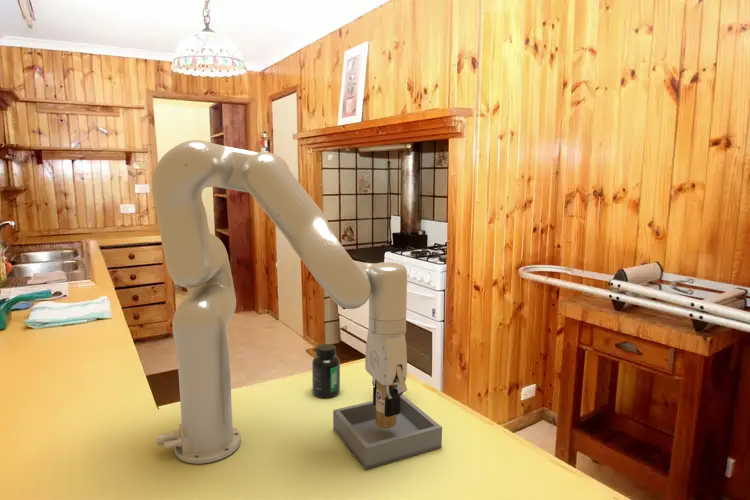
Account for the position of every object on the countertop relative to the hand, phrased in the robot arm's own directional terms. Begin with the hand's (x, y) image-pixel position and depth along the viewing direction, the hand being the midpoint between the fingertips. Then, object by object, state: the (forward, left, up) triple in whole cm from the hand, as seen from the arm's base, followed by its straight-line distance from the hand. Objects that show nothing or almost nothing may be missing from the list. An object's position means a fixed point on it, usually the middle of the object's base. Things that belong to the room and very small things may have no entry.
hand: (386, 408), depth 99 cm
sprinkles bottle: (0, 0, -4) cm, 4 cm away
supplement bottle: (-4, +25, -7) cm, 26 cm away
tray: (0, 0, -7) cm, 7 cm away
